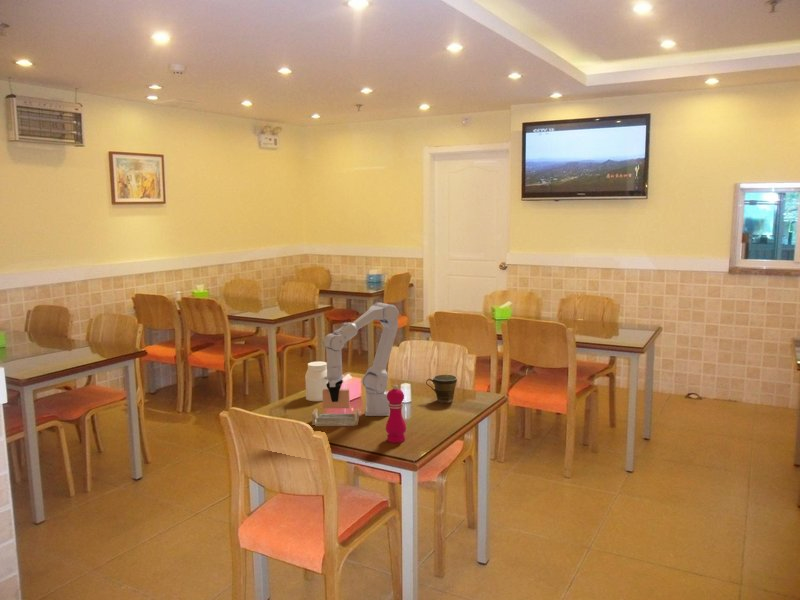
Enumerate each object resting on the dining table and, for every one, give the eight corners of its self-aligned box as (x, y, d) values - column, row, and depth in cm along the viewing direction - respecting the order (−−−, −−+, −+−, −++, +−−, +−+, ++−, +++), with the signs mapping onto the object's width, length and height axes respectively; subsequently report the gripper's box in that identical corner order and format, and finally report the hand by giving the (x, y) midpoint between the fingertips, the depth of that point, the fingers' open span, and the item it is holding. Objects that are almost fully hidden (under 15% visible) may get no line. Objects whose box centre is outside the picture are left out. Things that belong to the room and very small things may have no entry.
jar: (327, 401, 276) (326, 367, 274) (304, 401, 276) (303, 367, 274) (331, 393, 287) (330, 360, 285) (310, 393, 288) (309, 360, 286)
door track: (359, 418, 253) (358, 407, 252) (357, 425, 245) (357, 414, 244) (315, 419, 253) (315, 408, 252) (312, 426, 245) (311, 414, 244)
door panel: (349, 406, 249) (349, 388, 248) (349, 408, 247) (348, 390, 246) (323, 406, 249) (323, 389, 248) (322, 408, 247) (322, 390, 246)
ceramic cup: (457, 397, 279) (457, 374, 277) (456, 404, 269) (456, 381, 268) (427, 396, 280) (426, 374, 279) (425, 404, 270) (425, 380, 269)
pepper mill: (406, 436, 233) (405, 382, 230) (406, 443, 226) (405, 387, 223) (386, 436, 233) (385, 382, 230) (385, 443, 226) (384, 387, 223)
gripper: (326, 361, 253) (327, 394, 255) (321, 370, 238) (322, 406, 240) (344, 360, 253) (345, 394, 255) (340, 370, 238) (341, 406, 240)
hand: (335, 400), depth 248 cm, fingers closed on door panel, 2 cm apart
